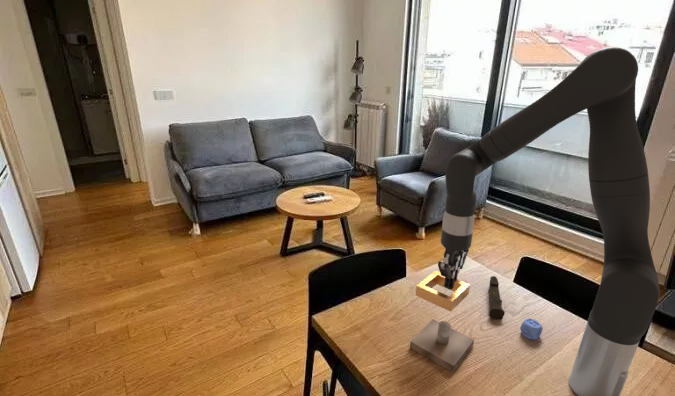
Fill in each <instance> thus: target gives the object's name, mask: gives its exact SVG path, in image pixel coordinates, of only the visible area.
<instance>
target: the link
mask: <svg viewBox="0 0 675 396" xmlns="http://www.w3.org/2000/svg"><path fill="white" fill-rule="evenodd" d="M444 282H445V277H444V276H441V273H440V271H439V270H434V271H433V272H432V273H430V274H429V275H427V276H426V277H425V278H424V279H423V280H422V281H421V282H419V283H418V284H416V288H415V296H417V297H418V298H419V299H422V300H425V301H426V302H429V303H431V304H434V305H435V306H437V307H440V308H442V309H444V310H446V311H449V312H451V313H452V312H453V310H455V308H457V307H458V305H460V303H462V301H464V300H465V298H467V297H468V296H469V294H470V287H471V284H470V283H467V282H465V281H462V280H460V279H458V278H457V279H455V278H454V282H453V288H452V289H451V290H450V289H448V290H449V291H452V293H451V294H450V295H448V294H445V293H442V292H440V291H438V290H436V289H434V287H435V286H436V285H438V286H441V287H442V288H445V287H444ZM445 289H446V288H445Z"/></svg>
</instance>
